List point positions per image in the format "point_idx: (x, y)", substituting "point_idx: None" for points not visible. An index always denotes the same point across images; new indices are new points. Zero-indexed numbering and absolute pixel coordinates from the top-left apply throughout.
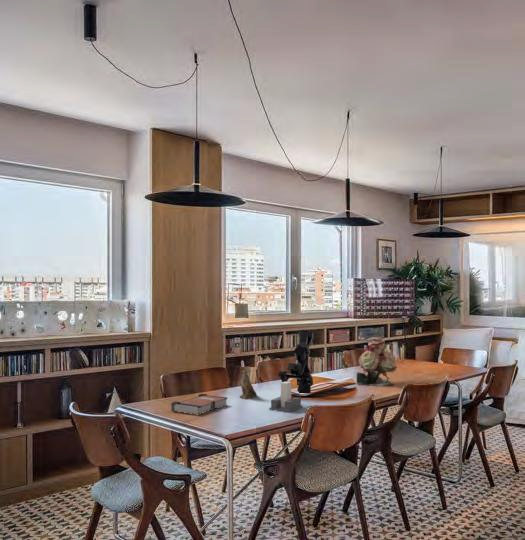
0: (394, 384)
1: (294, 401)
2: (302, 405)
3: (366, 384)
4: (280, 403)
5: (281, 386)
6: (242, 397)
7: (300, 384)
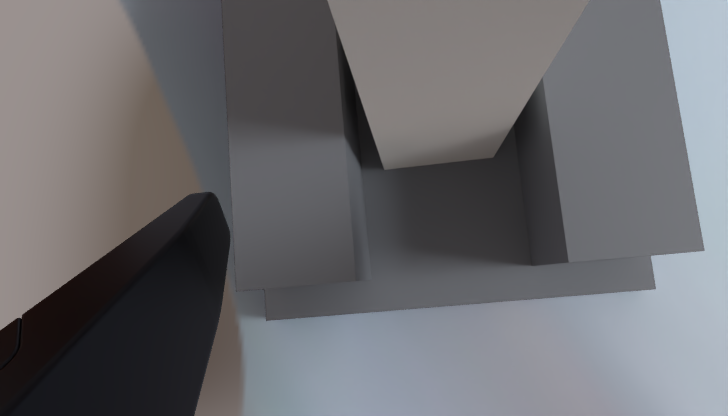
0: None
1: (230, 33)
2: (266, 317)
3: None
4: None
5: None
6: None
7: (40, 318)
